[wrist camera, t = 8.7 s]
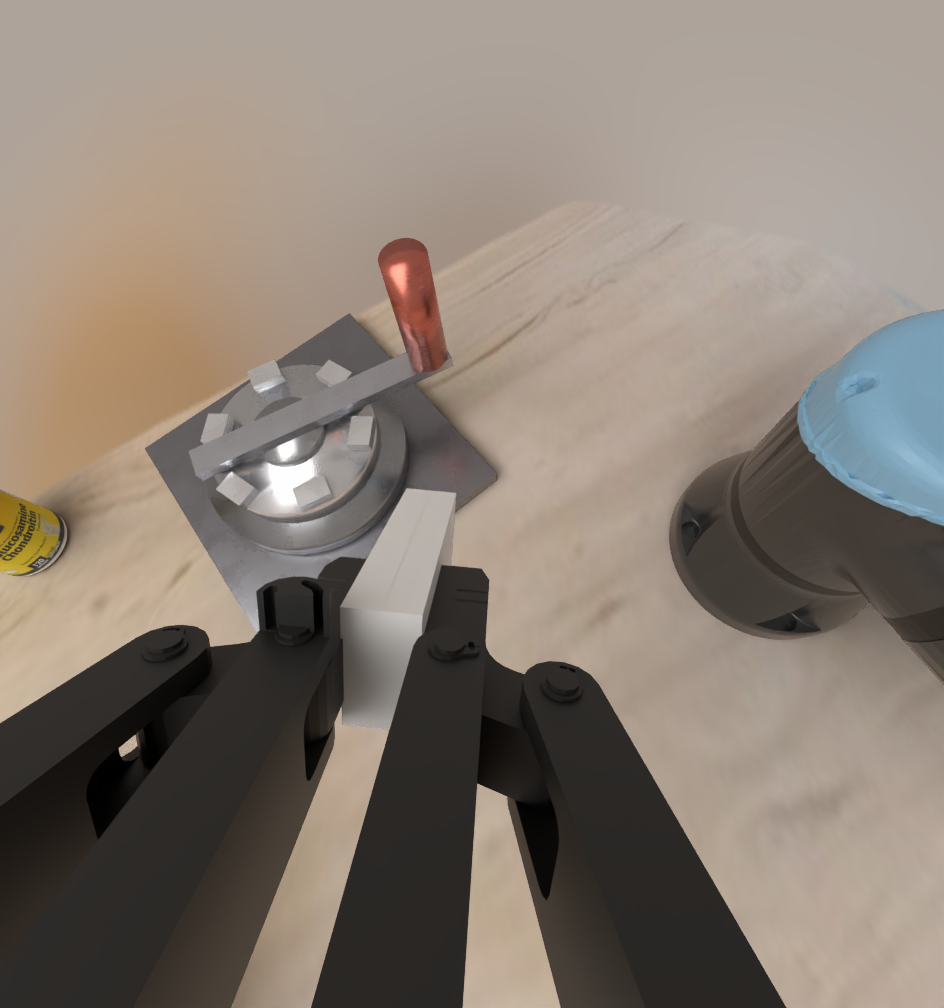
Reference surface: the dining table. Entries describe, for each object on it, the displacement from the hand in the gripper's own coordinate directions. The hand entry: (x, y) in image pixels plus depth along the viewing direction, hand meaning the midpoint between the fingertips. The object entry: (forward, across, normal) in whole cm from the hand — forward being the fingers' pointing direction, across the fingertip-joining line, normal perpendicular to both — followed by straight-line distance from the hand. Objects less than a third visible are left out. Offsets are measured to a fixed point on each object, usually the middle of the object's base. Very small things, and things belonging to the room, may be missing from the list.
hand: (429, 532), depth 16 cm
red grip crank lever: (+29, -12, -4) cm, 32 cm away
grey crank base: (+31, -15, -9) cm, 36 cm away
